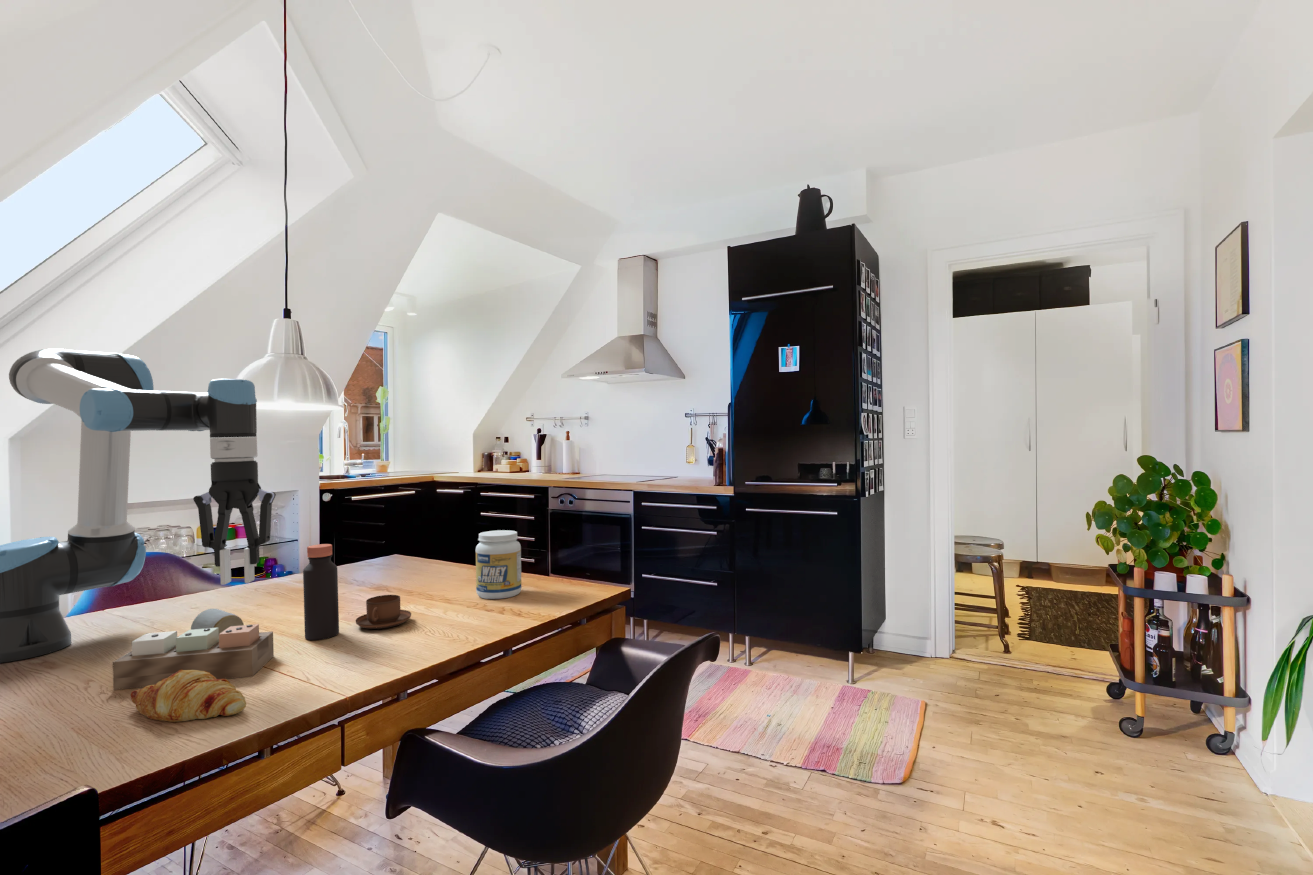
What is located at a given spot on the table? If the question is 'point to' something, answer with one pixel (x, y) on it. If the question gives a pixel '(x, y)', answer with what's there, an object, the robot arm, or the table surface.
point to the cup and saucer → (383, 613)
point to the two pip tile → (197, 639)
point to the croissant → (188, 697)
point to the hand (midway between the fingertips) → (237, 581)
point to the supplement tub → (498, 565)
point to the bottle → (320, 594)
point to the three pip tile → (239, 636)
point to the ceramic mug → (216, 620)
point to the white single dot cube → (154, 643)
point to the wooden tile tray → (193, 663)
